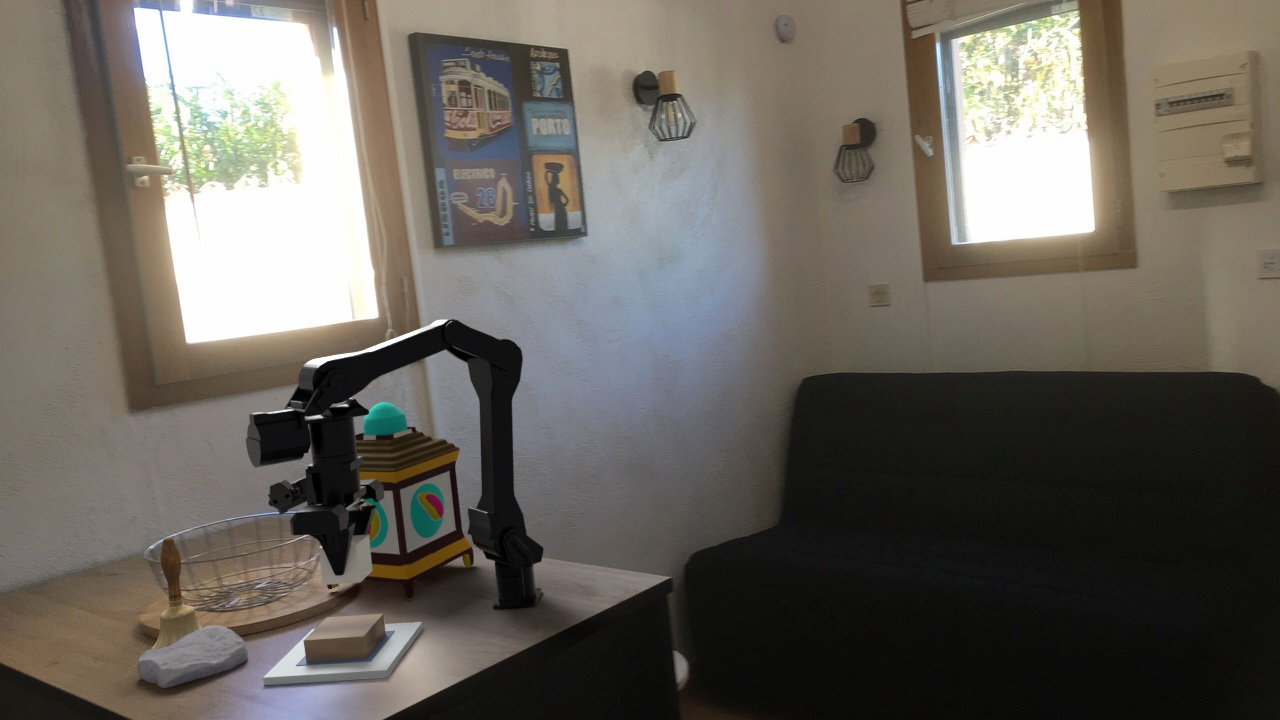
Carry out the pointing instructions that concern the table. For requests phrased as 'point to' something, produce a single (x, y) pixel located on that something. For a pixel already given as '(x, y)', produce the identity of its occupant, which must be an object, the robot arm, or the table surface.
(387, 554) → the decorative lantern
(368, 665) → the board
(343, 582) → the plastic cube
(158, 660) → the stone block
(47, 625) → the table surface
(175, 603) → the hand bell
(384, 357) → the robot arm
